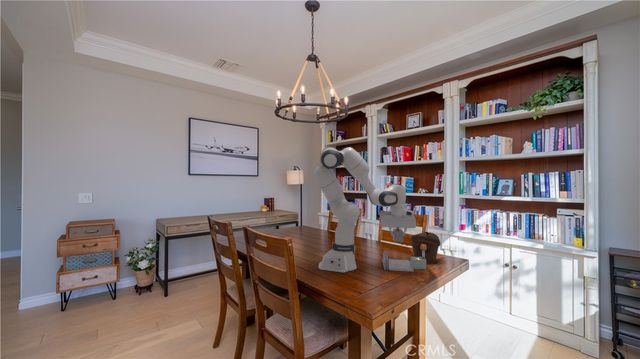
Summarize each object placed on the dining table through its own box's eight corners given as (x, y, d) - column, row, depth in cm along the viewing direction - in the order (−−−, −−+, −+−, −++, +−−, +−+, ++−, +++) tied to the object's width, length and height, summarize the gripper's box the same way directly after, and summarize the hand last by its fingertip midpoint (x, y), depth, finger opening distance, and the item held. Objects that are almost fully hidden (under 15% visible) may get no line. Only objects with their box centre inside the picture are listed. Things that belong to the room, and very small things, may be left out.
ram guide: (411, 268, 157) (411, 259, 157) (410, 265, 163) (410, 256, 163) (426, 269, 156) (426, 260, 155) (424, 265, 161) (424, 257, 161)
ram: (413, 262, 158) (413, 244, 158) (412, 260, 161) (412, 243, 161) (426, 262, 157) (427, 245, 157) (425, 261, 160) (425, 244, 160)
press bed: (384, 269, 154) (384, 259, 154) (382, 261, 170) (382, 251, 170) (413, 271, 152) (413, 260, 152) (408, 262, 168) (408, 253, 168)
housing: (393, 241, 155) (394, 228, 155) (392, 238, 163) (392, 225, 163) (403, 241, 154) (403, 228, 154) (401, 238, 162) (401, 226, 162)
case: (432, 255, 183) (432, 229, 182) (446, 265, 163) (445, 235, 162) (406, 255, 183) (406, 229, 183) (416, 265, 163) (416, 236, 163)
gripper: (380, 212, 157) (379, 235, 157) (416, 212, 153) (416, 237, 153) (379, 210, 163) (379, 233, 163) (415, 211, 159) (414, 234, 159)
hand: (397, 235), depth 158 cm, fingers closed on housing, 5 cm apart
